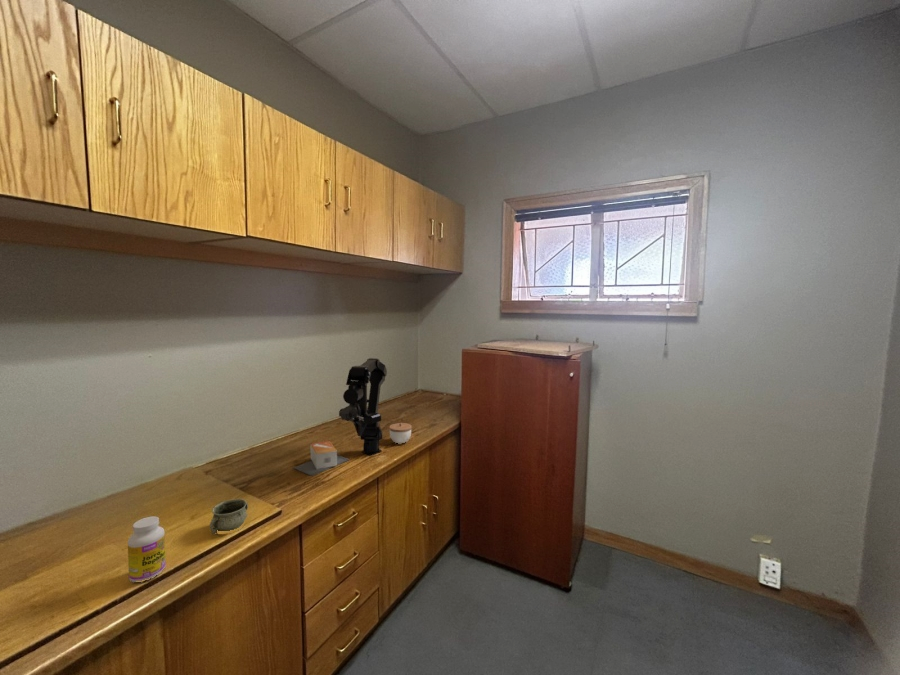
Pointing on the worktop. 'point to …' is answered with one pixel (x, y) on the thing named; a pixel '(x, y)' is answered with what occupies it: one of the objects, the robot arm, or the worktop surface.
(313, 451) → the small box
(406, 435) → the lidded jar
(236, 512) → the vessel
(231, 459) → the worktop surface
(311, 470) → the mat
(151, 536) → the supplement bottle
